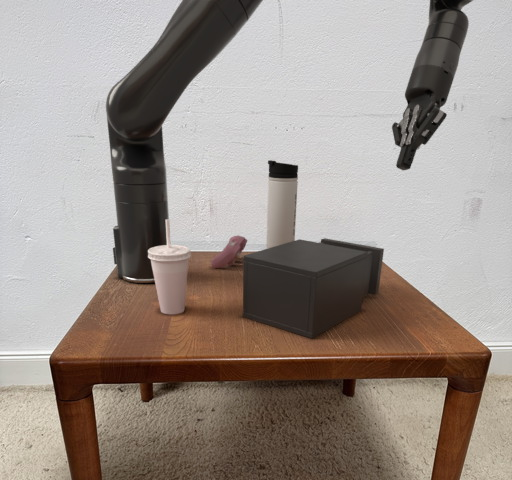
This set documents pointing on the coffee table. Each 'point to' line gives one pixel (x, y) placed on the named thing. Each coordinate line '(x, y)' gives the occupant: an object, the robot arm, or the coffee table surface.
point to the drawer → (371, 266)
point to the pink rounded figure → (230, 252)
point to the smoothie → (170, 274)
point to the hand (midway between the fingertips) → (402, 168)
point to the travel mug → (281, 203)
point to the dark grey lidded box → (303, 286)
